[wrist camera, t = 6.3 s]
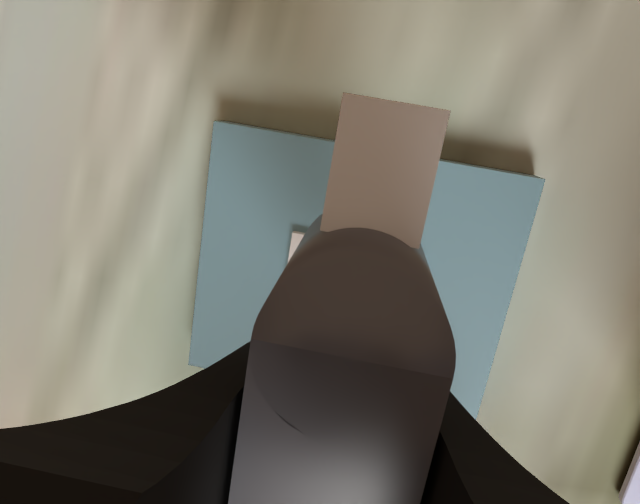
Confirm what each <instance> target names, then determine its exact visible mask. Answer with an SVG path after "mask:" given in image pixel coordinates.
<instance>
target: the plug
mask: <svg viewBox="0 0 640 504" xmlns="http://www.w3.org/2000/svg"><path fill="white" fill-rule="evenodd" d="M449 116H450V110H444V109H438V108H432V107H426V106H420V105H415V104H409V103H403V102H397V101H391V100H385V99H379V98H373V97H367V96H361V95H356V94H350V93H344V92H343V96H342V102H341V108H340V114H339V120H338V126H337V132H336V138H335V144H334V150H333V155H332V161H331V167H330V173H329V179H328V185H327V191H326V197H325V203H324V209H323V213H322V214H321V215H320V216H319V217H318V218H317V219H316V220H315V221H314V222H313V223H312V224H311V225H310V227H309V228H308V229H307V231H306V233H305V235H304V236H303V238H302V240H301V241H300V243H299V245H298V246H297V248H296V250H295V252H294V253H293V255H292V257H291V258H290V260H289V262H288V264H287V265H286V267H285V269H284V270H283V272H282V274H281V275H280V277H279V279H278V281H277V282H276V284H275V286H274V287H273V289H272V291H271V293H270V294H269V296H268V298H267V299H266V301H265V303H264V304H263V306H262V308H261V310H260V312H259V314H258V316H257V318H256V321H255V324H254V327H253V331H252V336H251V341H250V349H249V356H248V363H247V370H246V377H245V385H244V392H243V399H242V406H241V413H240V420H239V428H238V435H237V442H236V449H235V456H234V464H233V471H232V478H231V485H230V492H229V500H228V504H420V502H421V498H422V494H423V491H424V487H425V483H426V479H427V476H428V472H429V468H430V464H431V461H432V457H433V453H434V449H435V446H436V442H437V438H438V434H439V431H440V427H441V423H442V419H443V416H444V412H445V408H446V404H447V401H448V397H449V393H450V389H451V386H452V382H453V378H454V372H455V367H456V349H455V341H454V337H453V333H452V329H451V326H450V324H449V321H448V318H447V315H446V312H445V310H444V307H443V304H442V301H441V299H440V296H439V293H438V290H437V287H436V285H435V282H434V279H433V276H432V273H431V271H430V268H429V265H428V262H427V260H426V257H425V254H424V251H423V248H422V246H421V239H422V234H423V230H424V225H425V221H426V217H427V212H428V208H429V204H430V199H431V195H432V190H433V186H434V182H435V177H436V173H437V168H438V164H439V160H440V155H441V151H442V146H443V142H444V138H445V133H446V129H447V124H448V120H449Z"/></svg>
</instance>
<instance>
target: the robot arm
mask: <svg viewBox="0 0 640 504" xmlns="http://www.w3.org/2000/svg"><path fill="white" fill-rule="evenodd" d="M249 349H250V342H248V343H246V344H245V345H243V346H241V347H240V348H238V349H237V350H235V351H234V352H232V353H230V354H229V355H227V356H226V357H224V358H222V359H221V360H219V361H217V362H216V363H214V364H212V365H211V366H209V367H207V368H206V369H204V370H202V371H200V372H198V373H196V374H194V375H192V376H190V377H188V378H186V379H184V380H182V381H180V382H178V383H176V384H174V385H172V386H170V387H168V388H165V389H163V390H161V391H158V392H156V393H153V394H150V395H148V396H145V397H142V398H140V399H137V400H134V401H131V402H128V403H125V404H121V405H118V406H114V407H111V408H107V409H104V410H100V411H97V412H93V413H90V414H86V415H82V416H77V417H72V418H68V419H63V420H58V421H52V422H47V423H41V424H35V425H29V426H22V427H14V428H5V429H0V504H228V500H229V492H230V485H231V478H232V471H233V464H234V456H235V449H236V442H237V435H238V428H239V420H240V413H241V406H242V399H243V392H244V385H245V377H246V370H247V363H248V356H249ZM619 499H620V502H621V503H622V504H640V442H639V445H638V447H637V450H636V452H635V455H634V457H633V460H632V462H631V465H630V467H629V470H628V472H627V475H626V477H625V480H624V482H623V485H622V487H621V490H620V492H619ZM420 504H569V503H568V502H566V501H565V500H564V499H562V498H561V497H560V496H558V495H557V494H556V493H554V492H553V491H552V490H551V489H549V488H548V487H547V486H546V485H544V484H543V483H542V482H541V481H540V480H538V479H537V478H536V477H535V476H533V475H532V474H531V473H530V472H529V471H527V470H526V469H525V468H524V467H523V466H522V465H520V464H519V463H518V462H517V461H516V460H515V459H514V458H513V457H512V456H511V455H510V454H509V453H508V452H506V451H505V450H504V449H503V448H502V447H501V446H500V445H499V444H498V443H497V442H496V441H495V440H494V439H493V438H492V437H491V436H490V435H489V434H488V433H487V432H486V431H485V430H484V429H483V428H482V426H481V425H480V424H479V423H478V422H477V421H476V420H475V419H474V418H473V417H472V416H471V414H470V413H469V412H468V411H467V410H466V409H465V408H464V407H463V405H462V404H461V403H460V402H459V401H458V400H457V398H456V397H455V396H454V395H453V394H452V393H451V392H450V393H449V397H448V401H447V404H446V408H445V412H444V416H443V419H442V423H441V427H440V431H439V434H438V438H437V442H436V446H435V449H434V453H433V457H432V461H431V464H430V468H429V472H428V476H427V479H426V483H425V487H424V491H423V494H422V498H421V502H420Z"/></svg>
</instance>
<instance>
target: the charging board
mask: <svg viewBox="0 0 640 504" xmlns="http://www.w3.org/2000/svg"><path fill="white" fill-rule="evenodd" d="M334 144H335V140H330V139H325V138H319V137H313V136H308V135H302V134H296V133H290V132H285V131H279V130H273V129H268V128H262V127H256V126H251V125H245V124H239V123H234V122H228V121H214V124H213V133H212V143H211V153H210V162H209V172H208V181H207V191H206V201H205V210H204V220H203V230H202V239H201V249H200V258H199V268H198V278H197V287H196V297H195V307H194V316H193V326H192V335H191V345H190V355H189V364H188V365H192V366H197V367H202V368H207V367H209V366H211V365H212V364H214V363H216V362H217V361H219V360H221V359H222V358H224V357H226V356H227V355H229V354H230V353H232V352H234V351H235V350H237V349H238V348H240V347H241V346H243V345H245V344H246V343H248V342H250V341H251V336H252V331H253V327H254V324H255V321H256V318H257V316H258V314H259V312H260V310H261V308H262V306H263V304H264V303H265V301H266V299H267V298H268V296H269V294H270V293H271V291H272V289H273V287H274V286H275V284H276V282H277V281H278V279H279V277H280V275H281V274H282V272H283V270H284V269H285V267H286V265H287V264H288V262H289V260H290V258H291V257H292V255H293V253H294V252H295V250H296V248H297V246H298V245H299V243H300V241H301V240H302V238H303V236H304V235H305V233H306V231H307V229H308V228H309V227H310V225H311V224H312V223H313V222H314V221H315V220H316V219H317V218H318V217H319V216H320V215H321V214H322V213H323V209H324V203H325V197H326V191H327V185H328V179H329V173H330V167H331V161H332V155H333V150H334ZM544 182H545V179H543V178H540V177H538V176H535V175H529V174H524V173H518V172H512V171H506V170H501V169H495V168H489V167H484V166H478V165H472V164H467V163H461V162H455V161H450V160H444V159H440V160H439V164H438V168H437V173H436V177H435V182H434V186H433V190H432V195H431V199H430V204H429V208H428V212H427V217H426V221H425V225H424V230H423V234H422V239H421V246H422V248H423V251H424V254H425V257H426V260H427V262H428V265H429V268H430V271H431V273H432V276H433V279H434V282H435V285H436V287H437V290H438V293H439V296H440V299H441V301H442V304H443V307H444V310H445V312H446V315H447V318H448V321H449V324H450V326H451V329H452V333H453V337H454V341H455V349H456V367H455V372H454V378H453V382H452V386H451V389H450V392H451V393H452V394H453V395H454V396H455V397H456V398H457V400H458V401H459V402H460V403H461V404H462V405H463V407H464V408H465V409H466V410H467V411H468V412H469V413H470V414H471V416H472V417H473V418H474V419H475V420H476V418H477V414H478V411H479V407H480V404H481V400H482V397H483V393H484V390H485V387H486V383H487V380H488V376H489V373H490V369H491V366H492V362H493V359H494V355H495V352H496V349H497V345H498V342H499V338H500V335H501V331H502V328H503V324H504V321H505V317H506V314H507V310H508V307H509V304H510V300H511V297H512V293H513V290H514V286H515V283H516V279H517V276H518V272H519V269H520V265H521V262H522V259H523V255H524V252H525V248H526V245H527V241H528V238H529V234H530V231H531V227H532V224H533V220H534V217H535V214H536V210H537V207H538V203H539V200H540V196H541V193H542V189H543V186H544Z"/></svg>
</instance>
